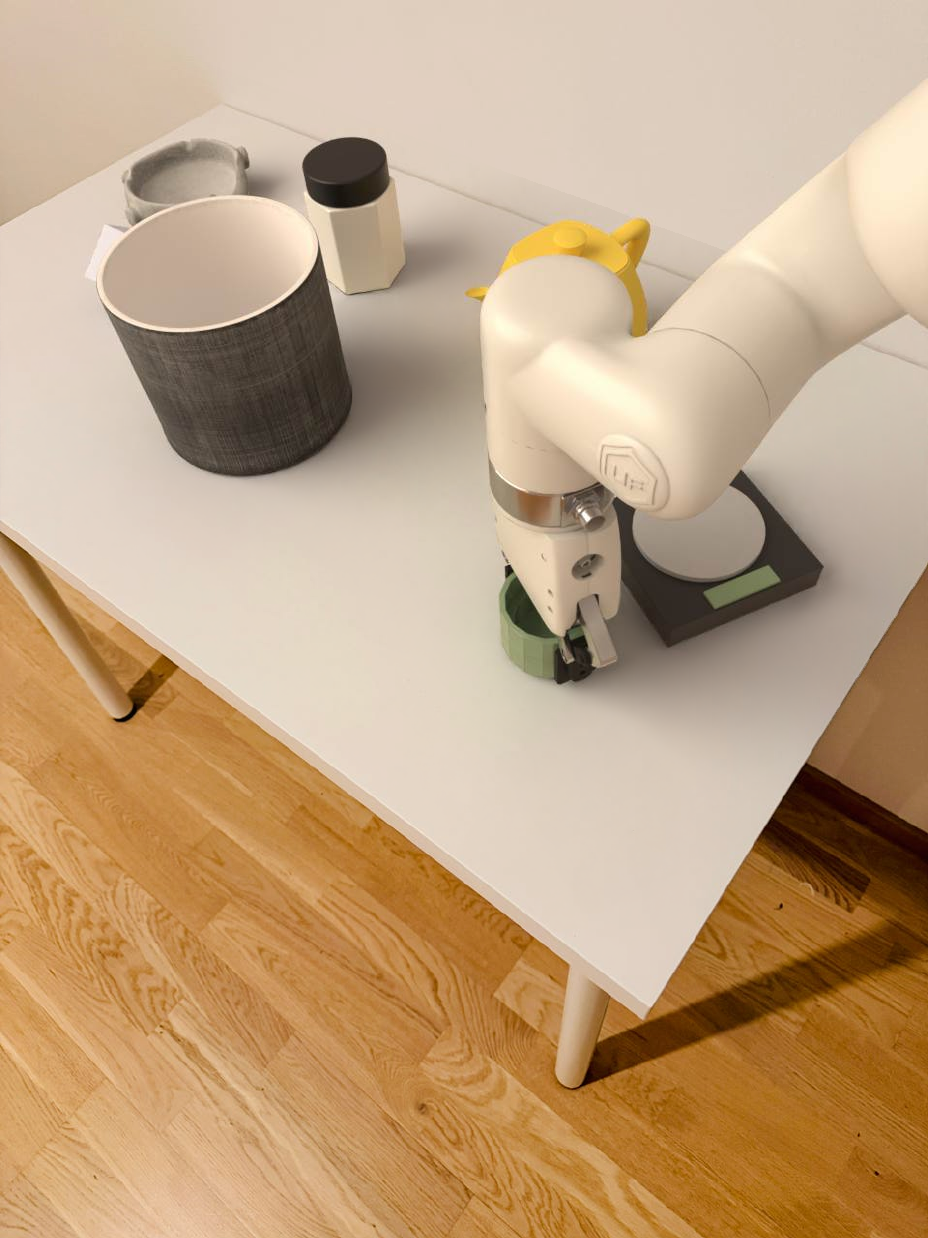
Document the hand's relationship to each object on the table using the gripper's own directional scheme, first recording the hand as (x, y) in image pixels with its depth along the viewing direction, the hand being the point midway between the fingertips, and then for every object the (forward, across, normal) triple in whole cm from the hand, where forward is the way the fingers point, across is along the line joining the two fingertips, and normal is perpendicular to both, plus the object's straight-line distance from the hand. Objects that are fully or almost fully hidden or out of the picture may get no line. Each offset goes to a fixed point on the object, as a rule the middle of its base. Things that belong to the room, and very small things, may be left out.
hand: (550, 631), depth 67 cm
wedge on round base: (+1, +55, +17) cm, 58 cm away
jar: (+1, +50, -3) cm, 50 cm away
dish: (+1, +70, +11) cm, 71 cm away
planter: (+1, +35, +13) cm, 37 cm away
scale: (+1, +2, -14) cm, 14 cm away
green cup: (+1, 0, 0) cm, 1 cm away
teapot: (+1, +28, -15) cm, 32 cm away
